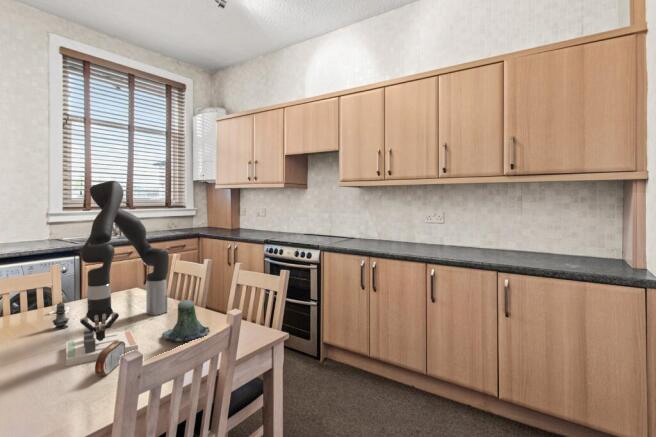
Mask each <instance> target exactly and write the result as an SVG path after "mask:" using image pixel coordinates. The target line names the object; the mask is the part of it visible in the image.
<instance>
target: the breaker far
mask: <svg viewBox="0 0 656 437" xmlns="http://www.w3.org/2000/svg"><path fill="white" fill-rule="evenodd" d="M91 333H93V334H94V331H92V332H91V331H90V330H89V329H87V328H85V329H83V336H84V335H85V334H91Z"/></svg>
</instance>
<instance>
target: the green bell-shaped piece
mask: <svg viewBox="0 0 656 437" xmlns="http://www.w3.org/2000/svg"><path fill="white" fill-rule="evenodd" d="M195 308H196V307H195V302H194V301H193V300H190V299H185V300H181V301H179V303H178V304H177V320H176V324H175V325H174V326H173V328H172V329H168V330H166V331H163V332H162V333H161V336H162V338H163V339H165V341H167V342H169V343H171V344H175V345H177V344H178V345H179V344H185V343H187V344H188V343H190V342H189V341H192V340H195V339H198V338H201V337H203V338H205V337H204V336H206V337H207V335H208V334H209V333H210V332H211V330H210V327H209V326H204V325H203V324H202V323H201V321H200V320H198V318H197V314H196V309H195ZM201 339H202V338H201Z"/></svg>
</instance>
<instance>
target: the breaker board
mask: <svg viewBox="0 0 656 437" xmlns="http://www.w3.org/2000/svg"><path fill="white" fill-rule="evenodd" d="M94 338H95V351H93V352H88V353H85V347H84V338H79V339H74V340H69V341H66V342H65V343H66V344H65V346H66V347H65V348H66V349H65V353H66V354H65V355H66V357H65V361H66V362H65V364H66V366H65V367H71V366H75V365H79V364H84V363H88V362H94V361H96V360H97V357H98V355H99V354H100V352H101V351H102V350H103V349H104V348H106V347H107V346H109V345H110V344H111V343H113V342H114V341H123V342H124V343H125V353H127V352H129V351H132V350H138V351H139V344H138V342H137V340H136V338H135V336H134V334H133V332H132V329H129V330H125V331H119V332H114V333H107V334H105V339H103V340H102V341H98V340H97V339H96V336H94ZM127 354H128V353H127Z"/></svg>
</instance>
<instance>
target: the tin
mask: <svg viewBox="0 0 656 437" xmlns="http://www.w3.org/2000/svg"><path fill="white" fill-rule="evenodd" d="M122 354H124V355H126V354H125V343H124V342H123V341H114V342H113V343H111V344H110V345H109V346H107V347H106V348H104V349H103V350H102V351H101V352H100V354H99V355H98V357H97V360H95V363H94V364H95V365H94V373H95V376H107V375H109V374H110V373H112V371H114V370H115V369H116V368H117V367H118V366H119V365H120V364H119V360H120V356H121V355H122Z"/></svg>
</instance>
